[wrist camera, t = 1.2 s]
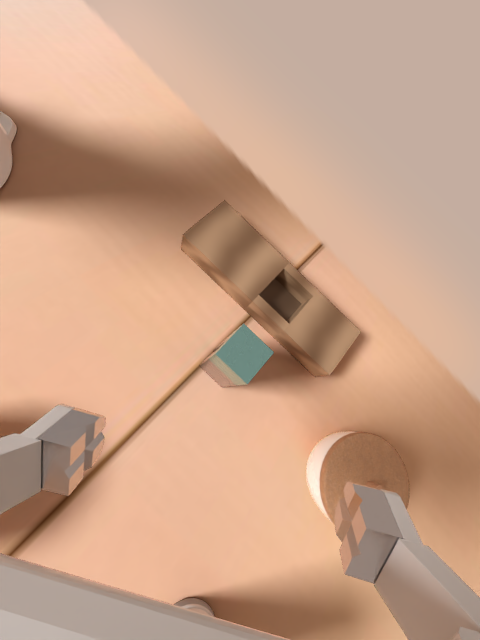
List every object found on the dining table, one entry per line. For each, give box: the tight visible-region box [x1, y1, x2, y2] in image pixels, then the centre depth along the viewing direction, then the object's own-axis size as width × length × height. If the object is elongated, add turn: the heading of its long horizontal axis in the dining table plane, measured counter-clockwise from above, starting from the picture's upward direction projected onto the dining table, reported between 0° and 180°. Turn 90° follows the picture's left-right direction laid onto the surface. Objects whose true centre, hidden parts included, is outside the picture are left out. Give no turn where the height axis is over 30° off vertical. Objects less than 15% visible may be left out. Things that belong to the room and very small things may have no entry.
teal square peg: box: [200, 324, 274, 387], centre depth 33 cm, size 4×4×12 cm
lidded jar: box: [306, 431, 409, 524], centre depth 34 cm, size 11×11×9 cm
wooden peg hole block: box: [181, 200, 361, 377], centre depth 41 cm, size 26×8×4 cm, turn 48°
